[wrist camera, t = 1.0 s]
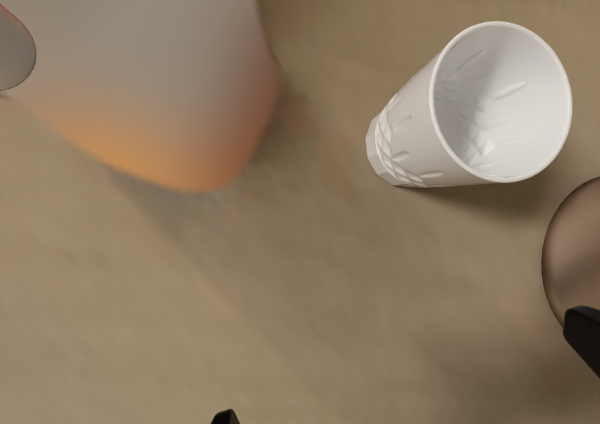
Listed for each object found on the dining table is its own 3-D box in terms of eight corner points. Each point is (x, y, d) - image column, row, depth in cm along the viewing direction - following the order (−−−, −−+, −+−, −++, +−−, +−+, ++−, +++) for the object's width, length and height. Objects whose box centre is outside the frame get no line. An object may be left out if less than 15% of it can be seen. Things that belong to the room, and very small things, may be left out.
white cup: (352, 99, 24) (422, 21, 15) (444, 94, 26) (565, 19, 16) (362, 199, 25) (438, 189, 15) (453, 190, 26) (580, 175, 16)
